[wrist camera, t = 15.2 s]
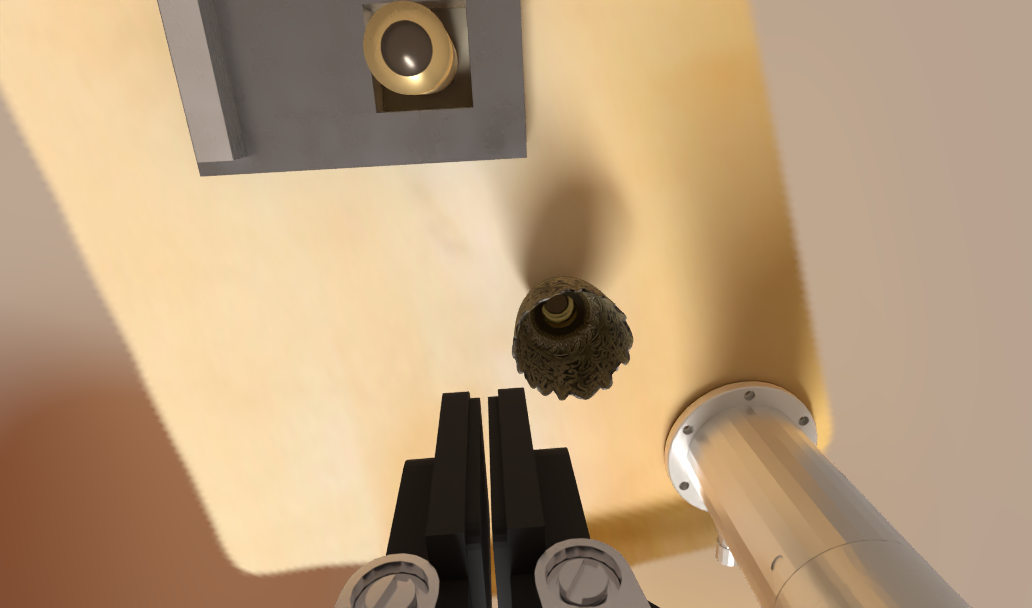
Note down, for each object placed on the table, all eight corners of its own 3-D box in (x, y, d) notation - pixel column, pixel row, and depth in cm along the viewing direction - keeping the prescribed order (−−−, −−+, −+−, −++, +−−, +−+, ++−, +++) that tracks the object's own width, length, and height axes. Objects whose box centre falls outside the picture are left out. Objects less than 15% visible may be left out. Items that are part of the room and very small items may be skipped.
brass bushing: (460, 92, 36) (453, 92, 27) (398, 95, 36) (369, 96, 27) (454, 23, 35) (445, -2, 25) (390, 26, 35) (356, 2, 25)
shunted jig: (523, 152, 38) (529, 161, 33) (221, 169, 37) (184, 181, 32) (510, -135, 32) (516, -174, 27) (153, -122, 31) (96, -159, 27)
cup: (544, 235, 40) (559, 268, 32) (625, 288, 42) (657, 330, 34) (487, 317, 42) (489, 366, 34) (567, 364, 44) (585, 420, 36)
